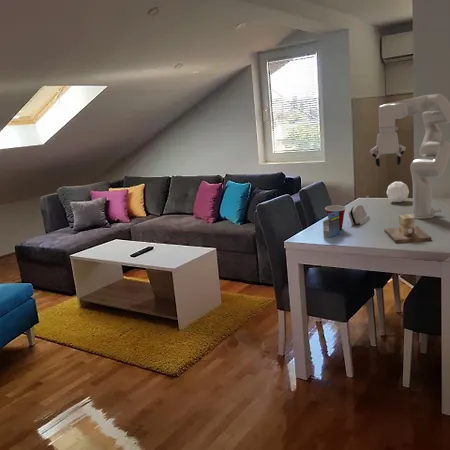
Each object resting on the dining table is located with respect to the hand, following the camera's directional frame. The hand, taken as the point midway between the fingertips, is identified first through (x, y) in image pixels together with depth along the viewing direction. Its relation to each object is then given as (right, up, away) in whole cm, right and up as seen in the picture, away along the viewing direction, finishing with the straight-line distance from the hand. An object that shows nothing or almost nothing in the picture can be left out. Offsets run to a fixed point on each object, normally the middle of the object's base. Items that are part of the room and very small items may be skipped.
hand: (388, 165), depth 245 cm
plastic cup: (-22, -32, +16) cm, 42 cm away
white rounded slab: (-7, -28, +28) cm, 40 cm away
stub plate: (+6, -35, -10) cm, 37 cm away
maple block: (+6, -33, -10) cm, 35 cm away
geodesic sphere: (+29, -15, +68) cm, 75 cm away
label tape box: (-27, -35, +5) cm, 45 cm away
